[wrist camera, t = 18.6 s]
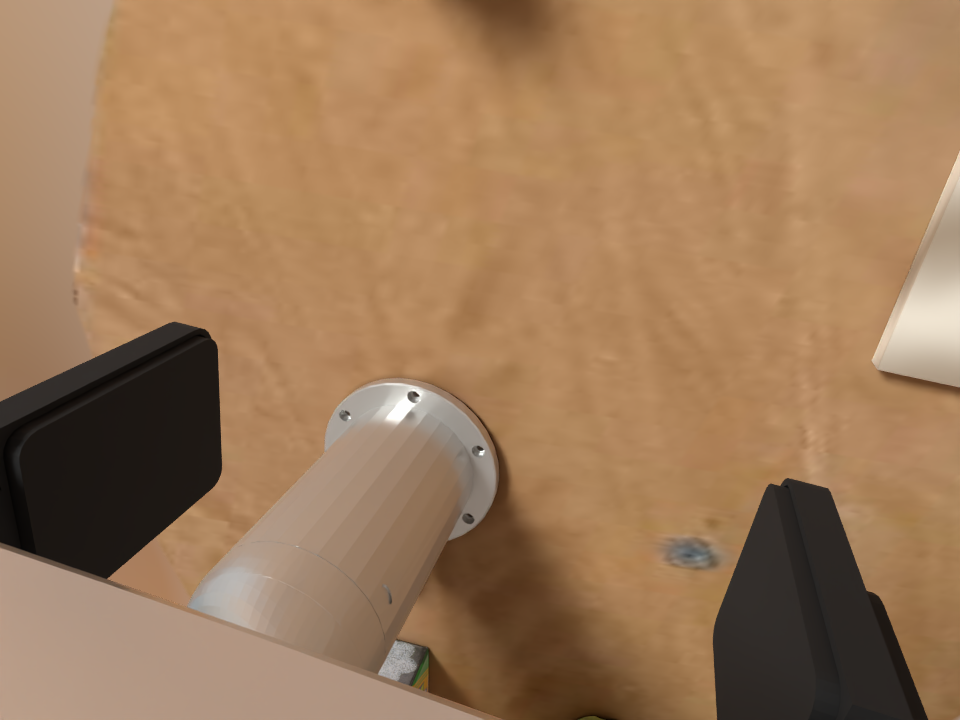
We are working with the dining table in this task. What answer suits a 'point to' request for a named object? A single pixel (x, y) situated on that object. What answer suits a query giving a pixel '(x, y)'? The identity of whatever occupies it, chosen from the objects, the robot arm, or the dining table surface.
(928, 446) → the dining table surface
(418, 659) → the chalk box
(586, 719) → the plant pot
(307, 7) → the dining table surface
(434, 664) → the dining table surface
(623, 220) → the dining table surface
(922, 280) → the board
